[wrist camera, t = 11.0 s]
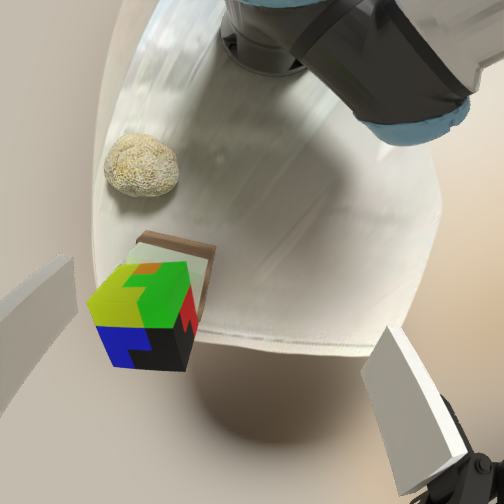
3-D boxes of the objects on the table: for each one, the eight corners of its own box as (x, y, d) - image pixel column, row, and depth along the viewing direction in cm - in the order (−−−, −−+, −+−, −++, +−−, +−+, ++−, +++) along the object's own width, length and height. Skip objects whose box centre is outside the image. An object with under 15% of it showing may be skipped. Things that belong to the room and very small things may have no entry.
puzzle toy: (137, 323, 42) (113, 366, 32) (119, 264, 38) (86, 301, 28) (198, 323, 41) (185, 371, 32) (186, 261, 37) (165, 301, 28)
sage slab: (139, 241, 42) (126, 254, 37) (208, 259, 43) (202, 274, 38) (134, 301, 46) (123, 317, 41) (196, 318, 47) (190, 336, 42)
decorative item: (173, 115, 35) (173, 183, 35) (182, 140, 44) (184, 199, 44) (93, 130, 34) (89, 196, 34) (113, 151, 43) (112, 208, 43)
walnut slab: (147, 229, 46) (136, 239, 42) (216, 245, 47) (212, 257, 43) (142, 290, 51) (132, 304, 46) (204, 305, 52) (199, 321, 47)
